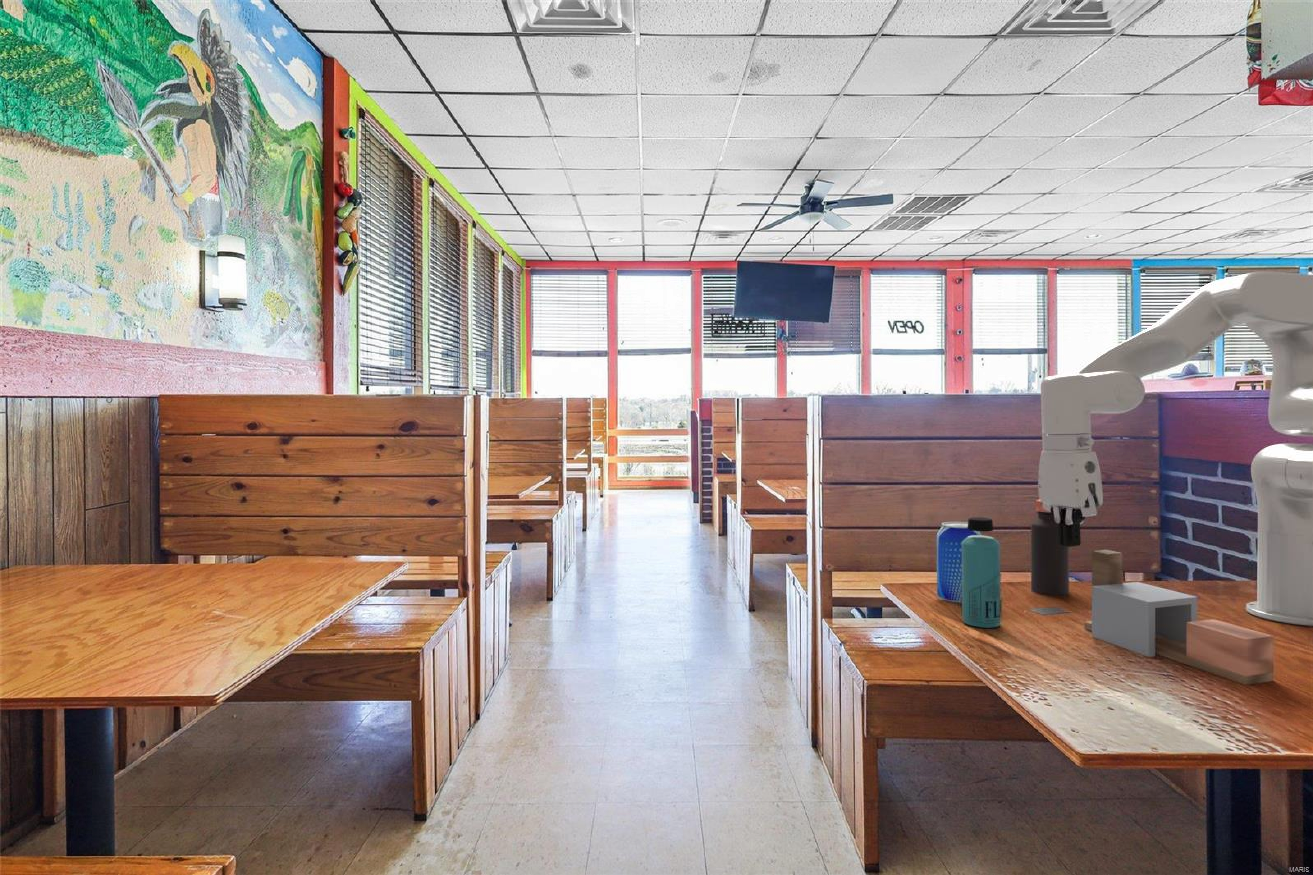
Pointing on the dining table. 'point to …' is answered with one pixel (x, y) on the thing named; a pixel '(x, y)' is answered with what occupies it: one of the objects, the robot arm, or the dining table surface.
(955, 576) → the beer can
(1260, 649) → the sled
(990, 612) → the beverage bottle
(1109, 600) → the tunnel
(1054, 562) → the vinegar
